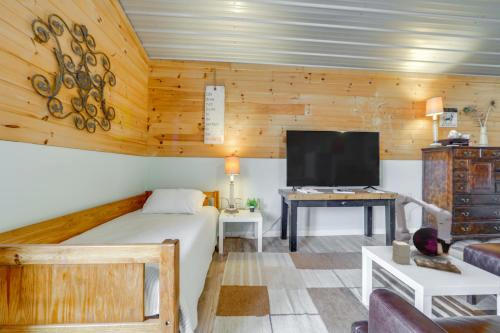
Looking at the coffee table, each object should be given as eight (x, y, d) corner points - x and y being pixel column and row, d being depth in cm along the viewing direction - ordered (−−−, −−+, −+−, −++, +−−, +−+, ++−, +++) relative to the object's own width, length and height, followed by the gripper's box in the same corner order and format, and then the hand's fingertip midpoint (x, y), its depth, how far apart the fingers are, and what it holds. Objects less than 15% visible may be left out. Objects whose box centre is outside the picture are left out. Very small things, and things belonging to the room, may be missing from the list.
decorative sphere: (408, 249, 172) (408, 223, 172) (439, 252, 165) (439, 226, 166) (418, 258, 153) (419, 229, 153) (454, 263, 146) (455, 233, 147)
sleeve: (439, 254, 137) (439, 244, 138) (436, 251, 142) (436, 242, 142) (450, 256, 135) (450, 246, 135) (447, 253, 140) (447, 243, 140)
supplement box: (403, 260, 149) (403, 241, 149) (410, 264, 142) (410, 245, 142) (391, 259, 150) (392, 240, 150) (398, 264, 142) (398, 244, 143)
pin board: (417, 266, 140) (417, 259, 140) (413, 260, 150) (413, 253, 150) (461, 274, 131) (461, 266, 131) (453, 267, 140) (453, 259, 140)
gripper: (456, 233, 131) (456, 256, 130) (447, 228, 144) (447, 249, 143) (441, 232, 134) (441, 254, 133) (434, 226, 147) (433, 247, 146)
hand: (443, 251), depth 139 cm, fingers closed on sleeve, 5 cm apart
